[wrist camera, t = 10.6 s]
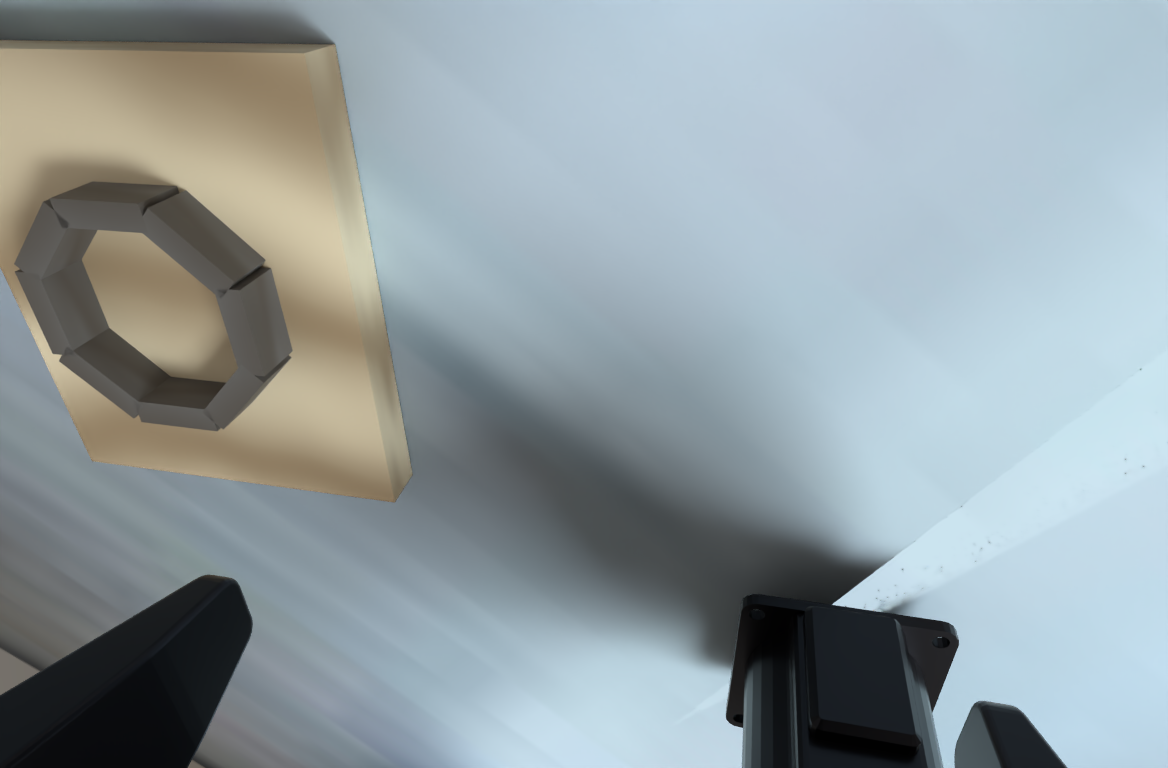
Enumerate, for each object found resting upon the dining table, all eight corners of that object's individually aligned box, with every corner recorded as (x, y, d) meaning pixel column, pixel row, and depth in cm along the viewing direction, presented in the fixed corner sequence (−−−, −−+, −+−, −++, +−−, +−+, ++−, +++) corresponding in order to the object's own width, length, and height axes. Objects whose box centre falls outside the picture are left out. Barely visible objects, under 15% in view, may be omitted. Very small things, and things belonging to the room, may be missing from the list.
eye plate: (412, 474, 26) (375, 533, 24) (121, 437, 28) (59, 487, 26) (335, 44, 19) (268, 63, 16) (-53, 39, 21) (-163, 55, 18)
